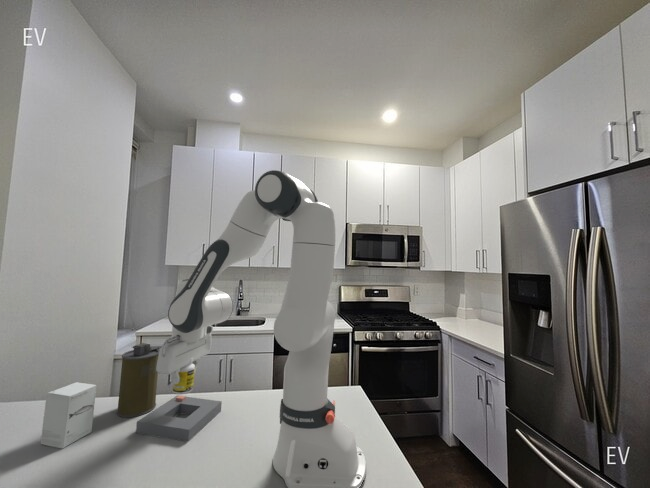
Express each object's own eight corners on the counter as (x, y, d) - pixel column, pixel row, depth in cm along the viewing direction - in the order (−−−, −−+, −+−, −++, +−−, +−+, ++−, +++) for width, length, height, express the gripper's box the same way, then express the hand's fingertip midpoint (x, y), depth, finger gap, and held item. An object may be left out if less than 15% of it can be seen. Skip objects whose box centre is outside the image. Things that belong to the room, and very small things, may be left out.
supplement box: (62, 449, 69) (68, 396, 70) (39, 444, 71) (45, 392, 72) (92, 432, 76) (97, 384, 77) (71, 428, 78) (76, 381, 79)
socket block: (220, 411, 90) (221, 398, 90) (188, 441, 74) (189, 426, 74) (176, 404, 92) (177, 392, 93) (135, 433, 77) (137, 418, 77)
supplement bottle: (187, 395, 81) (190, 361, 82) (168, 394, 81) (172, 359, 82) (196, 387, 87) (198, 355, 87) (178, 386, 87) (181, 354, 87)
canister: (132, 420, 82) (138, 351, 84) (108, 413, 86) (114, 346, 87) (164, 404, 93) (169, 342, 94) (141, 398, 96) (146, 338, 98)
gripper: (173, 341, 74) (168, 395, 73) (216, 325, 95) (212, 367, 93) (152, 339, 76) (147, 392, 75) (199, 324, 96) (195, 365, 95)
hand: (184, 378), depth 84 cm, fingers closed on supplement bottle, 5 cm apart
